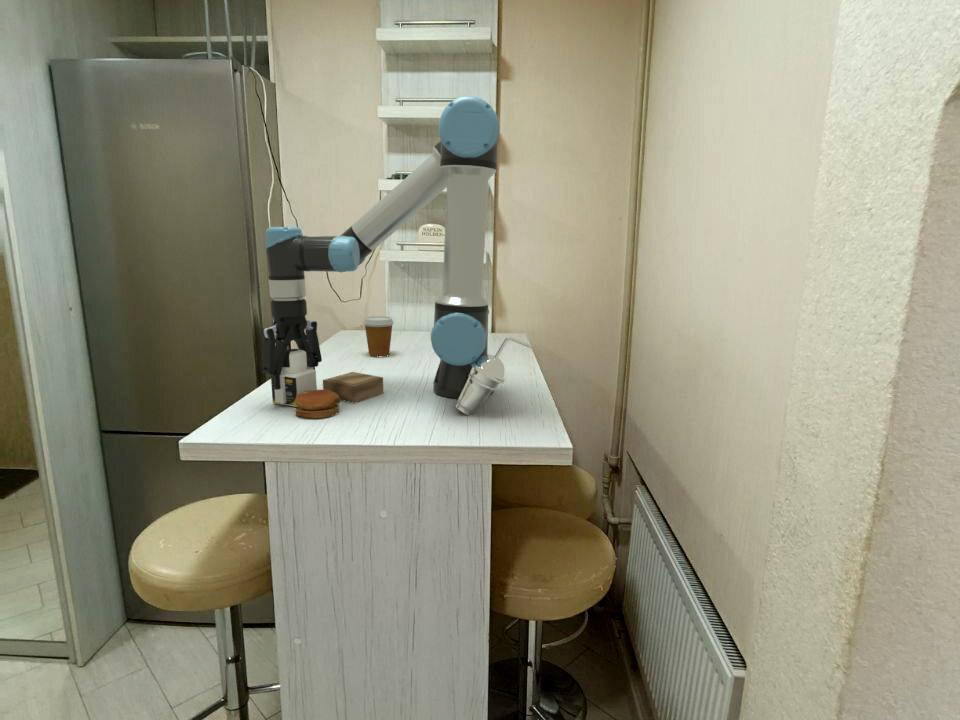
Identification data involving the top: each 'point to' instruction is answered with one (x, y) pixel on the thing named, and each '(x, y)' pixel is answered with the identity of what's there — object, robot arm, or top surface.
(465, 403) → the cup with straw
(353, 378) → the plinth
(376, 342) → the disposable coffee cup
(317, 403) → the burger
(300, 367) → the medicine bottle
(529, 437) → the top surface
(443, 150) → the robot arm
